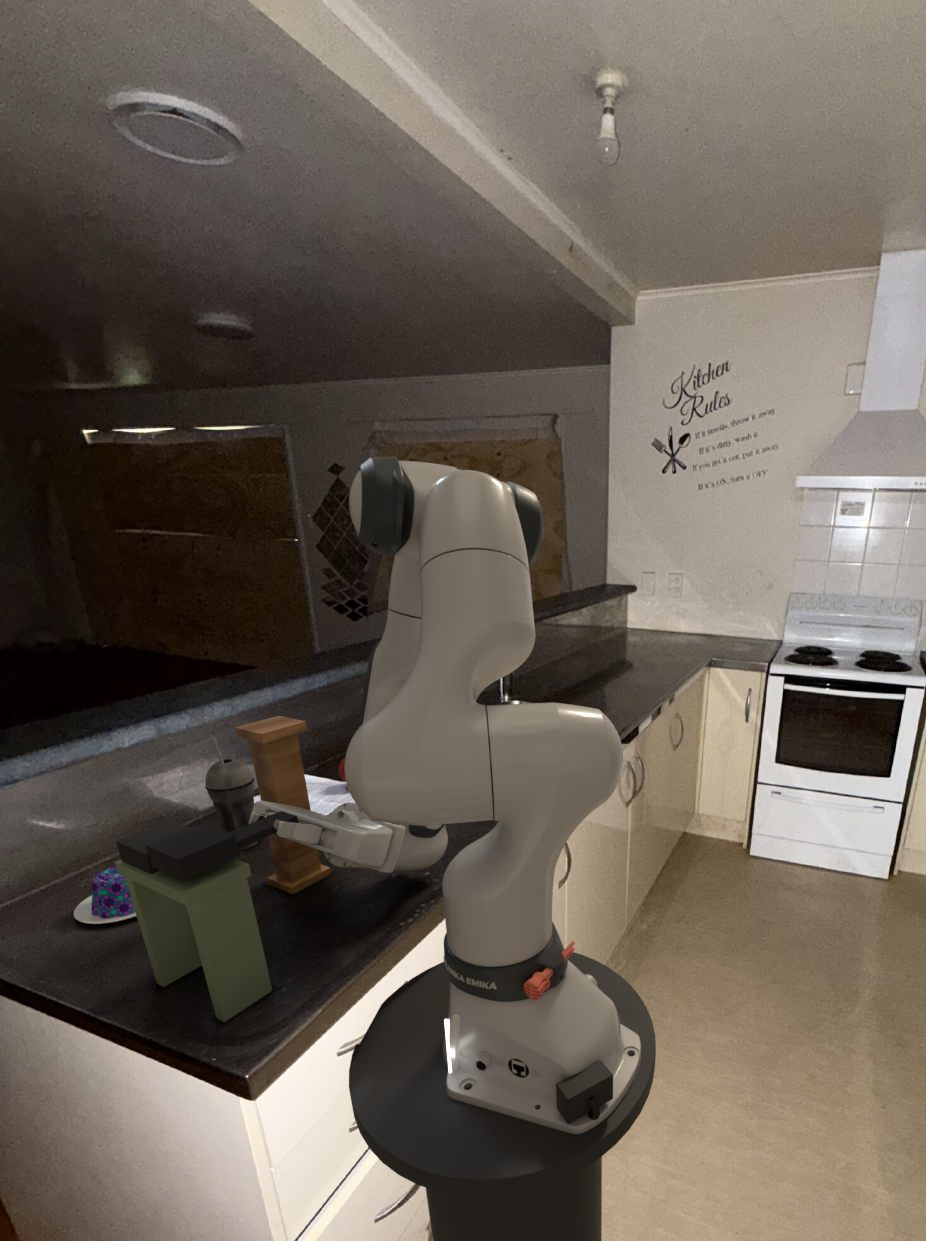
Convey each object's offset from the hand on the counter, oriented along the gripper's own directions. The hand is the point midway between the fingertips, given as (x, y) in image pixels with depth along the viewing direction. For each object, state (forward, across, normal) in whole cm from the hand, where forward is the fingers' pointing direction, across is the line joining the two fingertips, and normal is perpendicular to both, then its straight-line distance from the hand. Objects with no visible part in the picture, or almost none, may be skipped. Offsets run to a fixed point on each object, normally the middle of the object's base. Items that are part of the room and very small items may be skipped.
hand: (264, 823), depth 75 cm
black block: (+6, -6, +6) cm, 11 cm away
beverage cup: (-24, -35, +9) cm, 43 cm away
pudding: (-6, -32, +19) cm, 37 cm away
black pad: (+3, 0, +3) cm, 4 cm away
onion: (-48, -39, -5) cm, 62 cm away
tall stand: (-21, -16, +10) cm, 28 cm away
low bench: (-2, -3, +21) cm, 21 cm away
